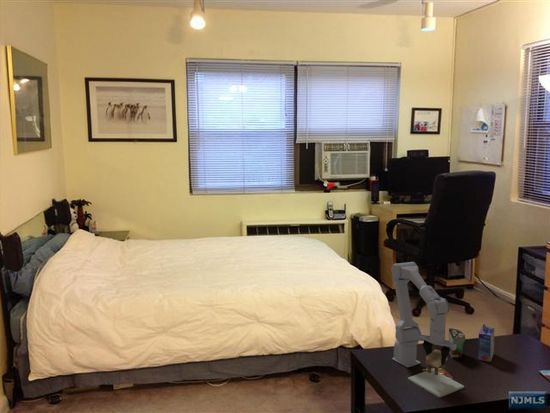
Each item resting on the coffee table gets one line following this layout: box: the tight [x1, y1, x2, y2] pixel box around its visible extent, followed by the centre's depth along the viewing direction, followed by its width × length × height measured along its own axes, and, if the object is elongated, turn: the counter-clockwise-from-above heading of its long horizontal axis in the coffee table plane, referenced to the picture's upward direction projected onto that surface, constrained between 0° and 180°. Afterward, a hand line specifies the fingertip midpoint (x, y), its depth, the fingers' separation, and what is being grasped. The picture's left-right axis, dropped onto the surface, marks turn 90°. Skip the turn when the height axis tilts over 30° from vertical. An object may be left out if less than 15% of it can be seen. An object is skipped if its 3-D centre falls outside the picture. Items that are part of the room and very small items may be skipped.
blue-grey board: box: [407, 368, 465, 398], centre depth 188 cm, size 16×14×1 cm
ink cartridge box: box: [477, 323, 495, 363], centre depth 210 cm, size 10×6×14 cm, turn 148°
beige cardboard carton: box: [425, 348, 448, 375], centre depth 187 cm, size 5×9×6 cm, turn 138°
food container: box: [448, 327, 466, 359], centre depth 213 cm, size 12×6×10 cm, turn 168°
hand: (436, 361), depth 187 cm, fingers closed on beige cardboard carton, 5 cm apart
